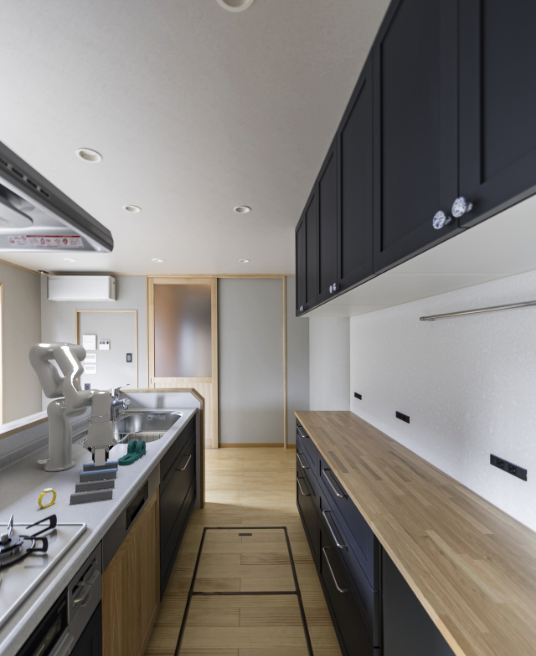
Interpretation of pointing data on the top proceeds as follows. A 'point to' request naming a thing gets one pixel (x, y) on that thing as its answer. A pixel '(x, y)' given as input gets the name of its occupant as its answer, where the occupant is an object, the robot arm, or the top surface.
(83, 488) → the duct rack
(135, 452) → the bracket
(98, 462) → the off-white rectangular prism
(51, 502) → the watch
